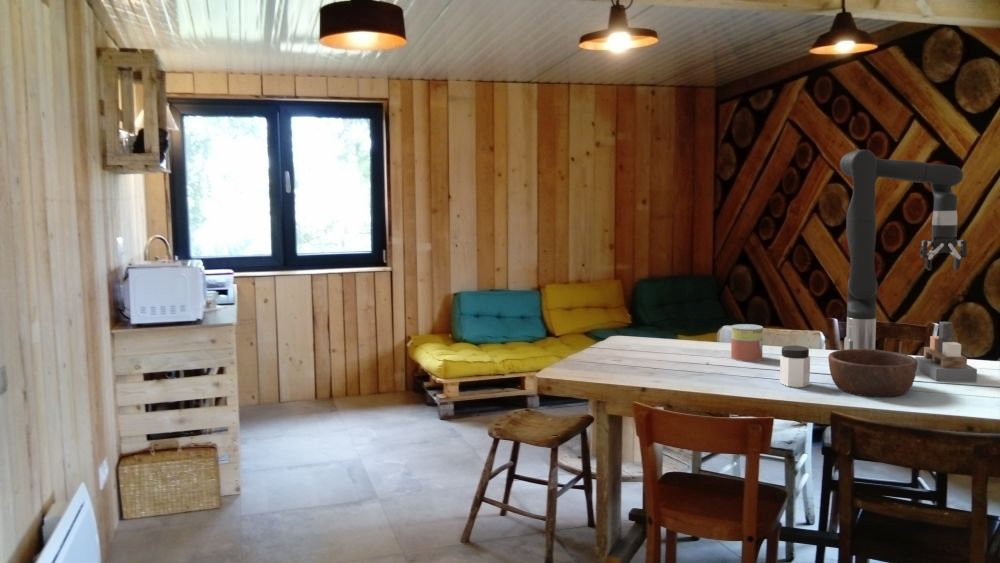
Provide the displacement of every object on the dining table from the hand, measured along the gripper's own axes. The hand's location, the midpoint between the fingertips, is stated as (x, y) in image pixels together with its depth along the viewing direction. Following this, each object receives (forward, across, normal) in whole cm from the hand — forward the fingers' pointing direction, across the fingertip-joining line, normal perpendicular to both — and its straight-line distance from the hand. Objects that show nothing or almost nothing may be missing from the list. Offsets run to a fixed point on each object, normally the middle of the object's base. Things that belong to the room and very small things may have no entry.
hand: (942, 270), depth 264 cm
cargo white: (+26, -5, -23) cm, 35 cm away
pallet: (+29, -5, -18) cm, 35 cm away
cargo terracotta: (+26, -5, -13) cm, 29 cm away
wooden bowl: (+34, -34, -38) cm, 61 cm away
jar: (+33, -56, -34) cm, 73 cm away
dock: (+33, -5, -18) cm, 38 cm away
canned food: (+33, -65, +4) cm, 73 cm away
